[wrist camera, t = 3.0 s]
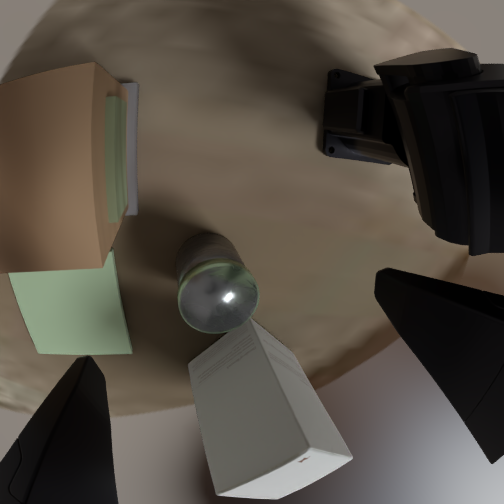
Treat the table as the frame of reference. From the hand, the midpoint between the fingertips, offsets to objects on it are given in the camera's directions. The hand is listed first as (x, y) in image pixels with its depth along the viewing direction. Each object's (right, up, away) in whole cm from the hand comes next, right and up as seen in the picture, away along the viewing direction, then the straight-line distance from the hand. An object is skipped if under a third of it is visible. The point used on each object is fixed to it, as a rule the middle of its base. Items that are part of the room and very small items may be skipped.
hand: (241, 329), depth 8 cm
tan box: (-10, +8, +7) cm, 15 cm away
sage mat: (-14, -2, +11) cm, 17 cm away
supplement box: (-1, -8, +17) cm, 19 cm away
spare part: (-3, +1, +12) cm, 13 cm away
